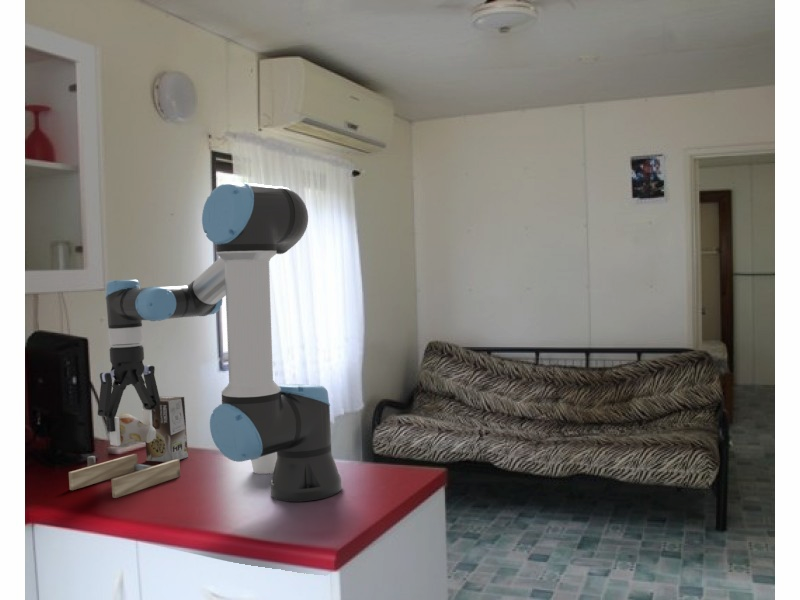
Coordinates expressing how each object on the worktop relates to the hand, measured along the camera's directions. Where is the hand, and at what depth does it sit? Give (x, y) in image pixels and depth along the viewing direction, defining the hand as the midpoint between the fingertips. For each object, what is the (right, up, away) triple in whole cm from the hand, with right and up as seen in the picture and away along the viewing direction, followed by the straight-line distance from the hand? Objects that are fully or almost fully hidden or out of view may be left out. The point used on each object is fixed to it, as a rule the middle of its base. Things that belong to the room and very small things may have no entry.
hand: (132, 440), depth 173 cm
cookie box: (+2, -9, +20) cm, 22 cm away
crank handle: (-9, -10, +8) cm, 15 cm away
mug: (+1, -1, +1) cm, 1 cm away
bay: (-1, -10, -2) cm, 10 cm away
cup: (+31, -8, +3) cm, 33 cm away
